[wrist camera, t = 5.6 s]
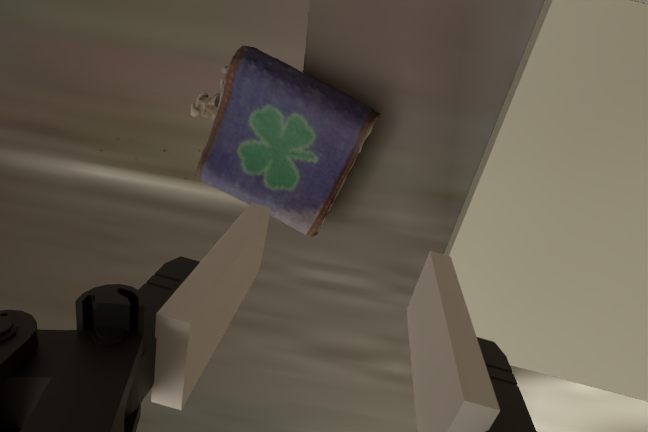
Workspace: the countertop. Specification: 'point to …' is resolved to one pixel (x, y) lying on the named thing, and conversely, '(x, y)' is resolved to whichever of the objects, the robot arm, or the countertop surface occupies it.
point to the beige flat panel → (566, 203)
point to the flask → (280, 138)
